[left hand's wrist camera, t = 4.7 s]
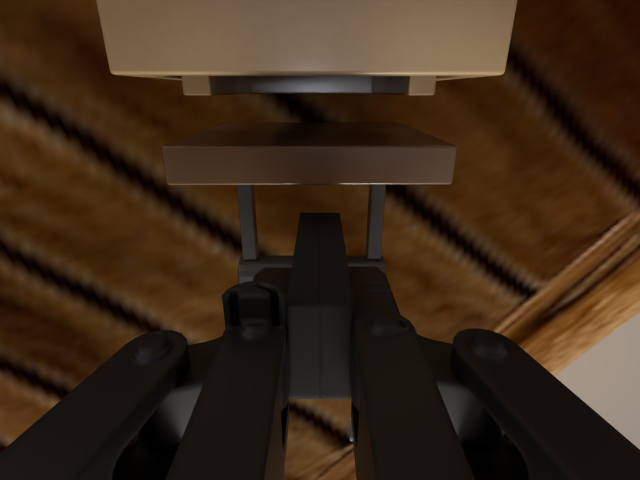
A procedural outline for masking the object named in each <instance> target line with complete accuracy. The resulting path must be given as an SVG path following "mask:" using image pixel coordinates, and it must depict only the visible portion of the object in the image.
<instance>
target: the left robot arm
mask: <svg viewBox="0 0 640 480" xmlns="http://www.w3.org/2000/svg"><path fill="white" fill-rule="evenodd" d="M222 300H223V308H224V317H225V326H226V329H225V331H224V334H223V336H221V337H219V338H217V339H214V340H211V341H207V342H203V343H198V344H193V345H187V339H186V338H185V337H184V336H183V335H182V334H181V333H178V332H175V331H169V330H160V331H155V332H154V331H153V332H149V333H146V334H144V335H141V336H139V337H136V338H135V339H133V340H132V341H130V342H129V343H127V344H126V345H124V346H123V347H122V348H121V349H120V350H119V351H117V352H116V353H115V354H114V355H113V356H112V357H111V358H109V359H108V360H107V361H106V362H105V363H104V364H102V365H101V366H100V367H99V368H98V369H97V370H95V371H94V372H93V373H92V374H91V375H90V376H89V377H87V378H86V379H85V380H84V381H83V382H82V383H80V384H79V385H78V386H77V387H76V388H75V389H74V390H72V391H71V392H70V393H69V394H68V395H67V396H65V397H64V398H63V399H62V400H61V401H60V402H58V403H57V404H56V405H55V406H54V407H53V408H52V409H50V410H49V411H48V412H47V413H46V414H45V415H43V416H42V417H41V418H40V419H39V420H38V421H37V422H35V423H34V424H33V425H32V426H31V427H30V428H28V429H27V430H26V431H25V432H24V433H23V434H22V435H20V436H19V437H18V438H17V439H16V440H15V441H13V442H12V443H11V444H10V445H9V446H8V447H6V448H5V449H4V450H3V451H2V452H1V453H0V480H283V478H284V467H285V456H286V445H287V434H288V423H289V403H288V400H289V395H290V399H350V395H351V398H352V403H351V427H350V441H353V445H354V455H355V466H356V477H357V480H640V450H639V449H638V448H637V447H636V446H635V445H633V444H632V443H631V442H630V441H629V440H628V439H626V438H625V437H624V436H623V435H622V434H621V433H619V432H618V431H617V430H616V429H615V428H614V427H612V426H611V425H610V424H609V423H608V422H607V421H606V420H604V419H603V418H602V417H601V416H600V415H599V414H597V413H596V412H595V411H594V410H593V409H592V408H590V407H589V406H588V405H587V404H586V403H585V402H583V401H582V400H581V399H580V398H579V397H578V396H576V395H575V394H574V393H573V392H572V391H571V390H569V389H568V388H567V387H566V386H565V385H564V384H562V383H561V382H560V381H559V380H558V379H557V378H555V377H554V376H553V375H552V374H551V373H550V372H548V371H547V370H546V369H545V368H544V367H543V366H541V365H540V364H539V363H538V362H537V361H536V360H534V359H533V358H532V357H531V356H530V355H529V354H527V353H526V352H525V351H524V350H523V349H522V348H520V347H519V346H518V345H517V344H516V343H514V342H513V341H511V340H510V339H508V338H507V337H505V336H503V335H501V334H498V333H496V332H493V331H490V330H485V329H466V330H463V331H460V332H458V333H457V334H456V336H455V337H454V339H453V344H450V343H445V342H440V341H435V340H431V339H428V338H425V337H422V336H420V335H418V334H417V333H416V331H415V328H414V326H413V325H412V324H411V322H410V321H409V320H407V319H406V318H404V317H403V316H401V315H400V313H399V310H398V307H397V304H396V302H395V299H394V296H393V293H392V292H391V288H390V285H389V282H388V280H387V277H386V274H385V273H384V272H382V271H381V270H380V269H379V268H377V267H376V266H348V263H347V256H346V250H345V244H344V238H343V232H342V226H341V220H340V214H339V213H301V214H300V220H299V226H298V232H297V238H296V244H295V250H294V256H293V263H292V268H263V269H262V270H260V271H259V272H258V273H257V274H256V275H255V276H254V278H253V281H250V282H244V283H240V284H237V285H235V286H233V287H231V288H229V289H227V290H226V291H225V293H224V294H223V295H222Z"/></svg>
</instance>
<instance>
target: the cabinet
mask: <svg viewBox="0 0 640 480" xmlns="http://www.w3.org/2000/svg"><path fill="white" fill-rule="evenodd" d="M96 1H97V6H98V12H99V17H100V22H101V27H102V32H103V37H104V42H105V47H106V52H107V57H108V62H109V67H110V71H111V73H112V74H115V75H125V76H136V77H148V78H161V79H173V80H182V78H181V76H436V81H437V80H449V79H461V78H473V77H484V76H496V75H502V74H503V73H504V72H505V67H506V61H507V56H508V50H509V44H510V38H511V33H512V27H513V21H514V15H515V10H516V4H517V0H96Z"/></svg>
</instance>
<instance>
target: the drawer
mask: <svg viewBox="0 0 640 480" xmlns="http://www.w3.org/2000/svg"><path fill="white" fill-rule="evenodd" d="M181 78H182V86H183V93H184V95H229V94H391V95H434V93H435V85H436V76H181ZM456 152H457V146H456V145H453V144H450V143H448V142H445V141H443V140H440V139H438V138H435V137H432V136H430V135H427V134H425V133H422V132H420V131H417V130H414V129H412V128H409V127H407V126H404V125H401V124H399V123H225V124H222V125H219V126H216V127H214V128H211V129H208V130H205V131H203V132H200V133H197V134H194V135H192V136H189V137H186V138H183V139H181V140H178V141H175V142H172V143H169V144H167V145H164V146H162V154H163V160H164V166H165V173H166V179H167V184H168V185H237V193H238V204H239V216H240V227H241V239H242V250H243V256H242V257H241V258H240V261H239V265H238V284H240V283H244V282H250V281H253V278H254V276H255V275H256V274H257V273H258V272H259V271H260V270H262V269H263V268H292V263H293V256H258V240H257V225H256V211H255V197H254V185H369V199H368V218H367V237H366V255H346V256H347V263H348V266H376V267H377V268H379V269H380V270H381V271H382V272H384V273H385V274H386V265H385V260H384V257H383V256H381V246H382V231H383V217H384V203H385V188H386V184H452V180H453V173H454V166H455V159H456Z"/></svg>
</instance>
